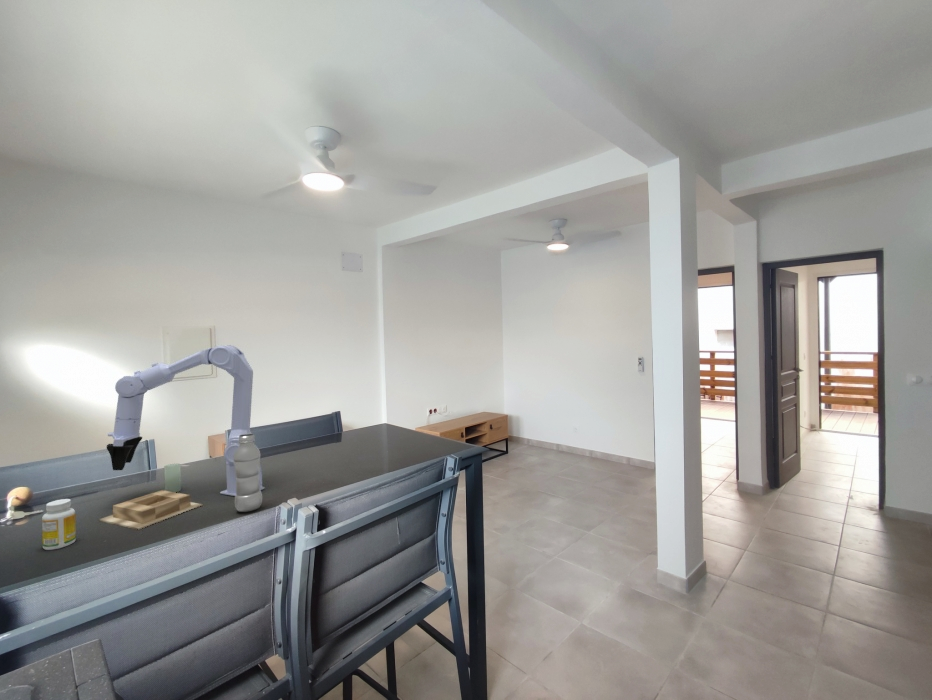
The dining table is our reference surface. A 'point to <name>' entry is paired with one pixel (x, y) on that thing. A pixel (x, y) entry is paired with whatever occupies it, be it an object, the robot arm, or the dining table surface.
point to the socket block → (150, 509)
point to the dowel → (172, 478)
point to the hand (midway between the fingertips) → (122, 466)
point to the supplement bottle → (58, 525)
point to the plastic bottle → (247, 474)
